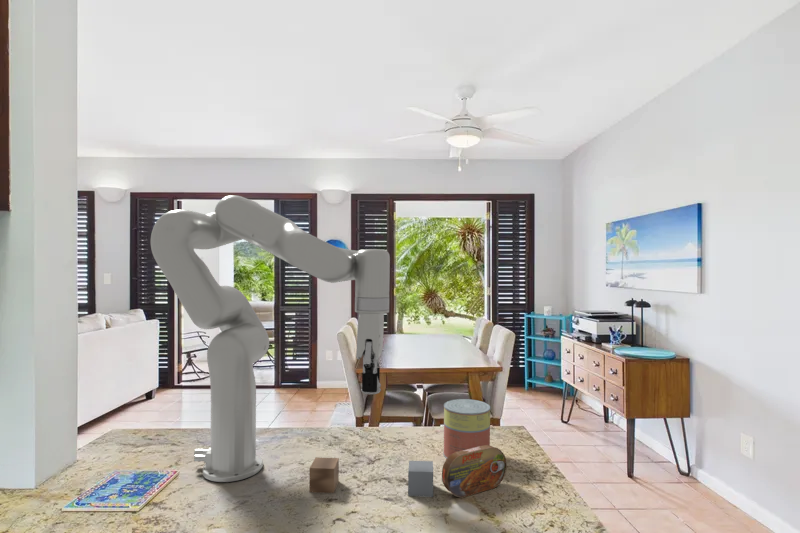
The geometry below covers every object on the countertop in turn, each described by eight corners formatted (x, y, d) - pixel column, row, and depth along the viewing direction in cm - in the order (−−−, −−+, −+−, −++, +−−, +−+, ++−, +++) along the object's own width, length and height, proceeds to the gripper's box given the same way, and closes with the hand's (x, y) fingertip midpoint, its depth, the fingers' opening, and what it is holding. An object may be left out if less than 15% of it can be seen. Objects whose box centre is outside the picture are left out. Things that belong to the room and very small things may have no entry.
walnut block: (309, 492, 91) (309, 467, 91) (315, 480, 96) (315, 457, 96) (333, 493, 90) (334, 468, 90) (338, 481, 95) (338, 458, 95)
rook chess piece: (378, 395, 96) (378, 358, 96) (358, 394, 97) (358, 357, 97) (383, 389, 100) (383, 354, 100) (364, 388, 101) (364, 353, 101)
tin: (447, 502, 87) (448, 459, 87) (439, 494, 90) (439, 452, 90) (507, 485, 94) (507, 445, 94) (497, 478, 97) (498, 440, 97)
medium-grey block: (408, 496, 89) (408, 471, 89) (408, 484, 94) (409, 460, 94) (433, 497, 89) (433, 472, 89) (432, 484, 94) (432, 461, 94)
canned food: (500, 457, 108) (500, 407, 108) (465, 469, 101) (465, 416, 101) (467, 442, 117) (468, 396, 117) (434, 452, 111) (434, 403, 111)
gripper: (360, 301, 107) (359, 378, 107) (348, 308, 90) (347, 399, 90) (392, 302, 106) (390, 379, 107) (385, 309, 90) (384, 400, 90)
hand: (370, 387), depth 98 cm, fingers closed on rook chess piece, 4 cm apart
